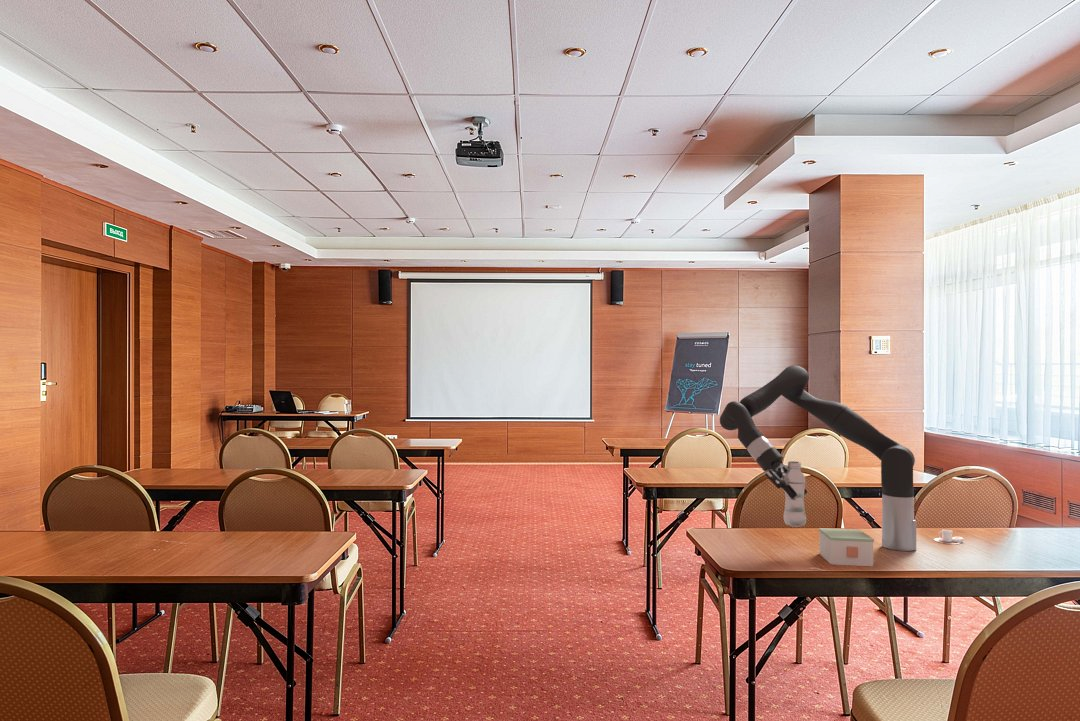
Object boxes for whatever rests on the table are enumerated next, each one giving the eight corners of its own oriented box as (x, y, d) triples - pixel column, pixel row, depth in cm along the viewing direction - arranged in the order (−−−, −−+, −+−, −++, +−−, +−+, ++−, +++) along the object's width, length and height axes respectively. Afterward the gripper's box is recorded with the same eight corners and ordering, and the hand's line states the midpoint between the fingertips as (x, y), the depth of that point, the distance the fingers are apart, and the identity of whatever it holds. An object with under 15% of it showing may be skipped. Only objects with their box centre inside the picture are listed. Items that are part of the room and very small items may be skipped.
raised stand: (859, 555, 210) (859, 529, 210) (874, 566, 198) (874, 539, 198) (818, 553, 212) (819, 528, 212) (831, 564, 199) (831, 537, 199)
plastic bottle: (805, 529, 205) (805, 464, 205) (782, 527, 208) (782, 462, 208) (807, 525, 211) (806, 461, 211) (784, 522, 214) (784, 460, 214)
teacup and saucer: (963, 542, 230) (963, 530, 230) (963, 547, 223) (963, 534, 223) (934, 538, 235) (934, 526, 235) (933, 543, 228) (933, 531, 228)
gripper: (768, 459, 224) (802, 499, 215) (745, 463, 214) (780, 506, 205) (783, 444, 220) (818, 485, 211) (760, 448, 210) (797, 491, 201)
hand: (799, 495), depth 208 cm, fingers closed on plastic bottle, 6 cm apart
